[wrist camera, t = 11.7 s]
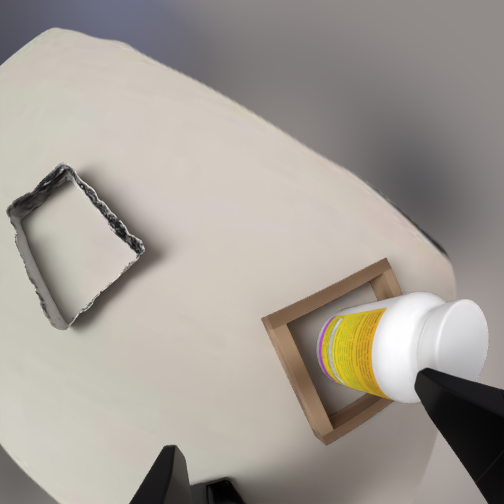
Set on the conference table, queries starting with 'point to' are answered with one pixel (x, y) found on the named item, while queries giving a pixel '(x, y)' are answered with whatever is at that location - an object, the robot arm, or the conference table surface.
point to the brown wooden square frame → (296, 370)
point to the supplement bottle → (402, 343)
